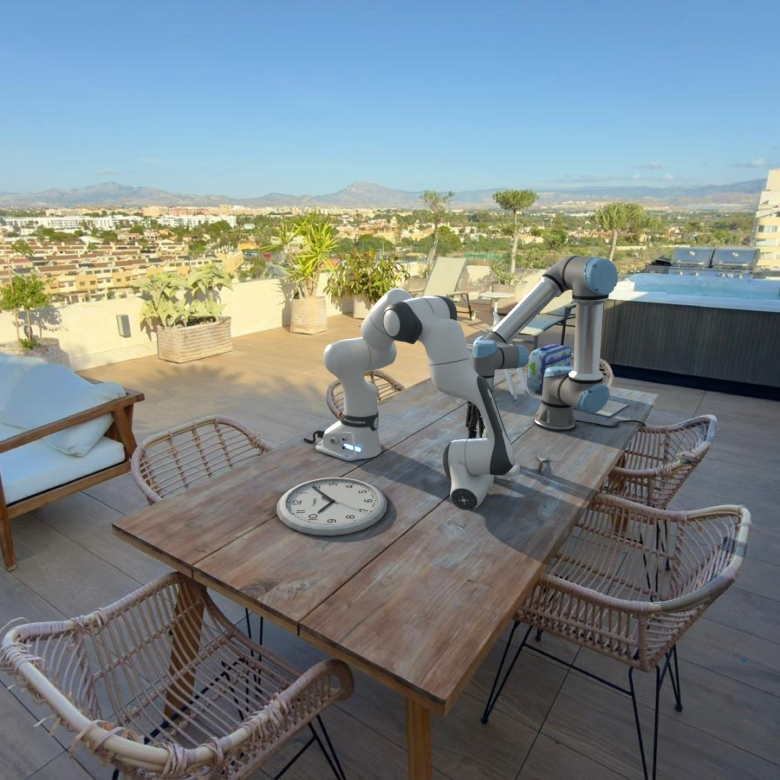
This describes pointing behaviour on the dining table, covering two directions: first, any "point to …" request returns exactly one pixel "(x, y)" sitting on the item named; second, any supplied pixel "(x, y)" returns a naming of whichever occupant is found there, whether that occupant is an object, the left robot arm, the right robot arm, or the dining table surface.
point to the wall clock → (331, 506)
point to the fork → (542, 460)
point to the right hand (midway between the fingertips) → (475, 452)
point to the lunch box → (546, 363)
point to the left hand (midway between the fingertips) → (490, 456)
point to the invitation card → (611, 408)
